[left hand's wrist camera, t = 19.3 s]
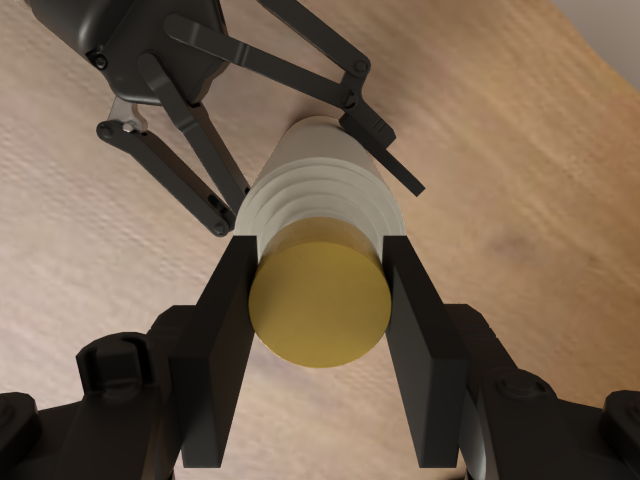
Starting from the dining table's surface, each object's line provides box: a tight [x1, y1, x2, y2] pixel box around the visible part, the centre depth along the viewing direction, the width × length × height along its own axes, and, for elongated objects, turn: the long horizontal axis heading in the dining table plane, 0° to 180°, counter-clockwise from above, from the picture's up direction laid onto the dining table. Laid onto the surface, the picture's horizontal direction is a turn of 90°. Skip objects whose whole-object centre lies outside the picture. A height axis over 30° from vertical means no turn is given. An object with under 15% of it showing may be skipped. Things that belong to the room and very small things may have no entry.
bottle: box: [234, 116, 406, 264], centre depth 23 cm, size 7×7×22 cm
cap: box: [248, 217, 392, 368], centre depth 13 cm, size 4×4×2 cm
